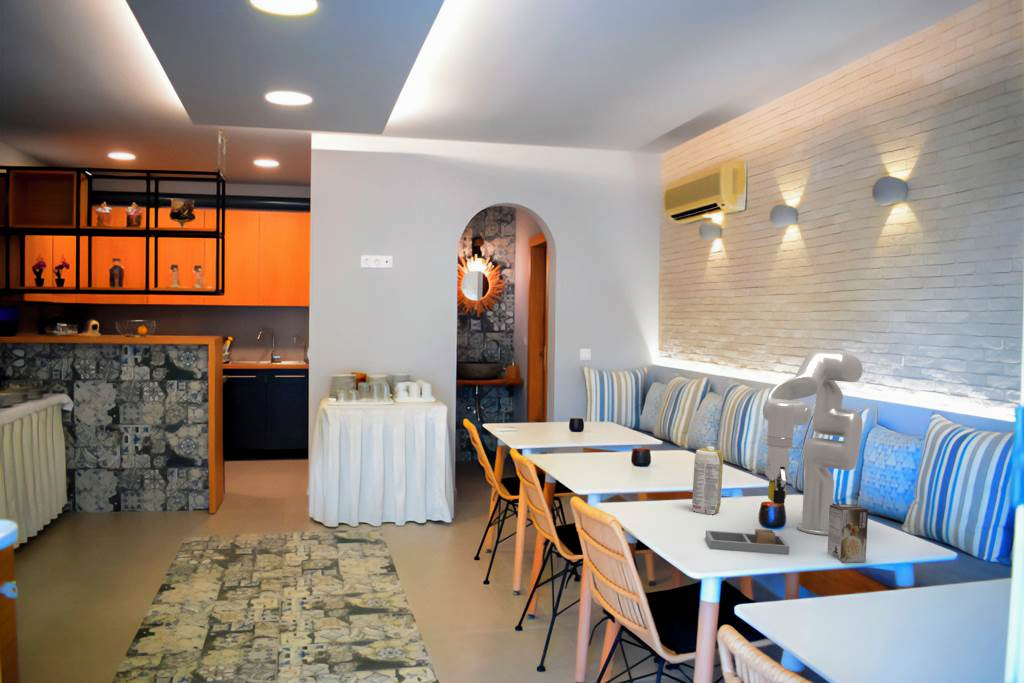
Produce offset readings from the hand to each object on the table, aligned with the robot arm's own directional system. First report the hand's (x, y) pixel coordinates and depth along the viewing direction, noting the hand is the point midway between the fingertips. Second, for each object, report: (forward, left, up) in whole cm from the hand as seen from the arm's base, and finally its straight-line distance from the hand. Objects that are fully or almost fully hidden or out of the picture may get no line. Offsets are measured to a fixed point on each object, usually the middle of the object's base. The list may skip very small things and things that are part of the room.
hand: (776, 500), depth 249 cm
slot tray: (0, -8, -16) cm, 18 cm away
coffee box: (+2, +21, -16) cm, 26 cm away
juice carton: (-47, -14, -16) cm, 52 cm away
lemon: (0, 0, -1) cm, 1 cm away
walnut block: (0, -3, -15) cm, 15 cm away
